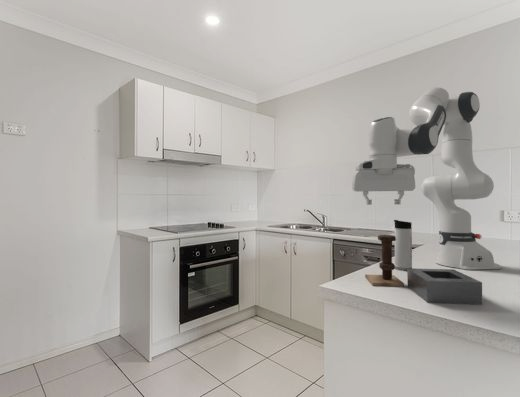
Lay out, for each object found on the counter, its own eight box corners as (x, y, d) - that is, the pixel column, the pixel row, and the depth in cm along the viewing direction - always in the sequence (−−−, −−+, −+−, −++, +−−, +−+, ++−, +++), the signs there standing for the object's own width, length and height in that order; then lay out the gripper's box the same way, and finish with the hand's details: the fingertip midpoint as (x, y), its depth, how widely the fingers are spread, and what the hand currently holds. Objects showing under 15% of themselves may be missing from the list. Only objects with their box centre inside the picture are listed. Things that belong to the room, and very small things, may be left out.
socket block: (453, 288, 91) (453, 269, 91) (482, 304, 77) (482, 282, 77) (407, 286, 92) (407, 268, 92) (427, 302, 79) (426, 280, 79)
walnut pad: (393, 278, 102) (393, 275, 102) (404, 286, 93) (404, 283, 93) (365, 277, 104) (365, 274, 104) (372, 285, 94) (372, 282, 94)
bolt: (397, 281, 95) (397, 236, 94) (382, 281, 95) (381, 236, 95) (391, 276, 100) (391, 234, 100) (377, 276, 101) (376, 234, 101)
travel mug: (390, 267, 118) (390, 219, 118) (405, 266, 119) (405, 219, 119) (399, 271, 112) (399, 220, 112) (415, 270, 112) (415, 220, 112)
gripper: (410, 164, 100) (411, 204, 100) (351, 166, 102) (351, 204, 103) (418, 162, 94) (418, 204, 94) (354, 164, 96) (355, 205, 96)
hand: (383, 204), depth 98 cm, fingers open, 8 cm apart
